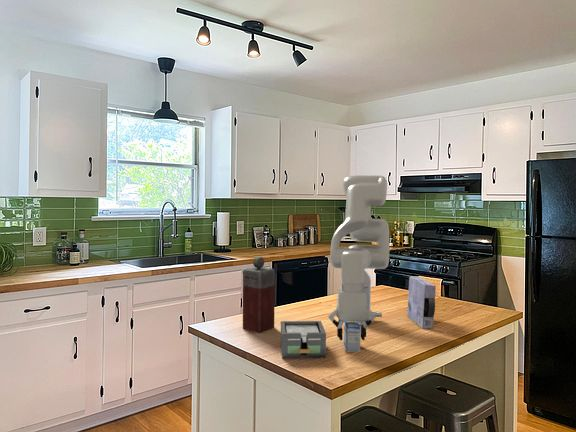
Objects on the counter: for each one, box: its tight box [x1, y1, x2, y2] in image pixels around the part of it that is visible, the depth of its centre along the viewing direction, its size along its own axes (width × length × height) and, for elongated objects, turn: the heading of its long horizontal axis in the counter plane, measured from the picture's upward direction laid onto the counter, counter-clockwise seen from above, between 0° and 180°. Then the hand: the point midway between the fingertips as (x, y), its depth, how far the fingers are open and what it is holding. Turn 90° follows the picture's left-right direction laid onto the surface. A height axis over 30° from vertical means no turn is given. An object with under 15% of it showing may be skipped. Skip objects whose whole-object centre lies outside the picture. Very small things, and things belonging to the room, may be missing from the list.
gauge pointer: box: [299, 349, 309, 353], centre depth 140 cm, size 3×1×1 cm, turn 92°
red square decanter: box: [242, 256, 276, 334], centre depth 172 cm, size 9×11×28 cm
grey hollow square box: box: [280, 320, 327, 360], centre depth 148 cm, size 14×14×8 cm
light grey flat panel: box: [286, 325, 319, 342], centre depth 146 cm, size 11×14×1 cm
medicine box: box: [343, 321, 361, 353], centre depth 151 cm, size 8×4×9 cm, turn 2°
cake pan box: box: [406, 275, 437, 330], centre depth 181 cm, size 19×5×18 cm, turn 4°
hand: (351, 338), depth 151 cm, fingers open, 7 cm apart
